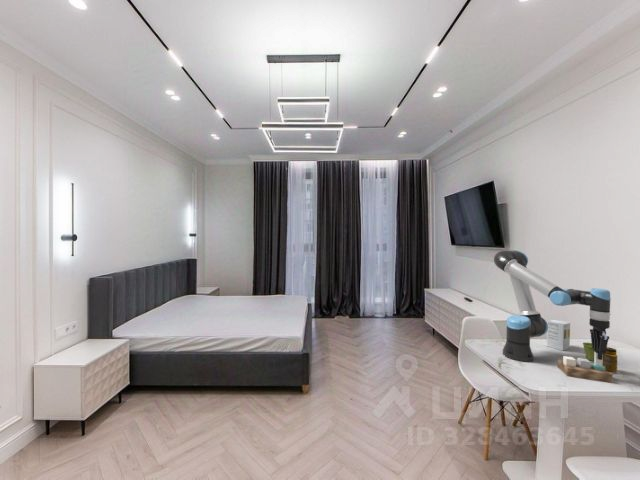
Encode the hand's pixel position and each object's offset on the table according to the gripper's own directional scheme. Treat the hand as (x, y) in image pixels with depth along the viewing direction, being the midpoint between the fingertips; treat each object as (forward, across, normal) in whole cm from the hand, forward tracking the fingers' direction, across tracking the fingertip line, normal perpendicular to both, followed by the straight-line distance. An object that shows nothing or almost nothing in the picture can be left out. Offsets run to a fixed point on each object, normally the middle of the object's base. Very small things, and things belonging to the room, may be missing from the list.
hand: (598, 364), depth 150 cm
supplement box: (+6, +44, +2) cm, 44 cm away
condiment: (+6, +12, -9) cm, 16 cm away
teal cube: (+4, 0, 0) cm, 4 cm away
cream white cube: (+2, 0, +12) cm, 12 cm away
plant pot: (+6, +27, -9) cm, 29 cm away
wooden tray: (+6, 0, +6) cm, 8 cm away
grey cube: (+2, 0, +6) cm, 6 cm away
